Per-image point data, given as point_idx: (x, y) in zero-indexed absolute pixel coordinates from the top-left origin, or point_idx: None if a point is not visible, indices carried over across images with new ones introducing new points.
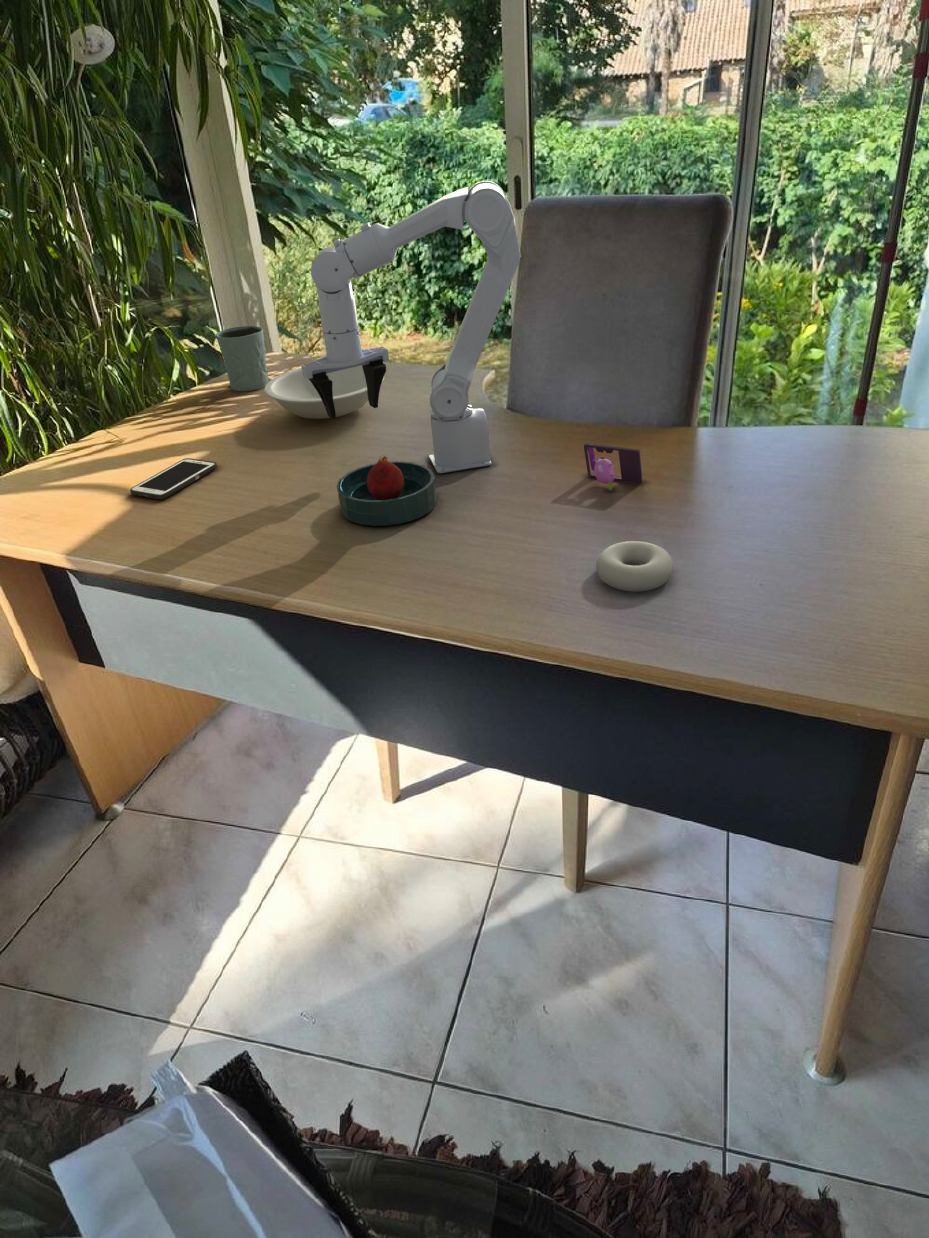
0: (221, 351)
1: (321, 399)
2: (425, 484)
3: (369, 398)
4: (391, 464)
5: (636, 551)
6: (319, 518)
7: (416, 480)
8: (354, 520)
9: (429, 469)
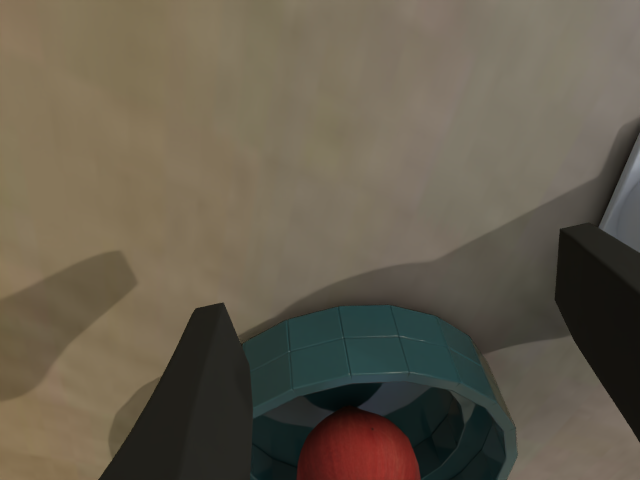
0: None
1: (142, 415)
2: (475, 431)
3: (588, 281)
4: None
5: None
6: (134, 407)
7: (464, 405)
8: None
9: (514, 453)
